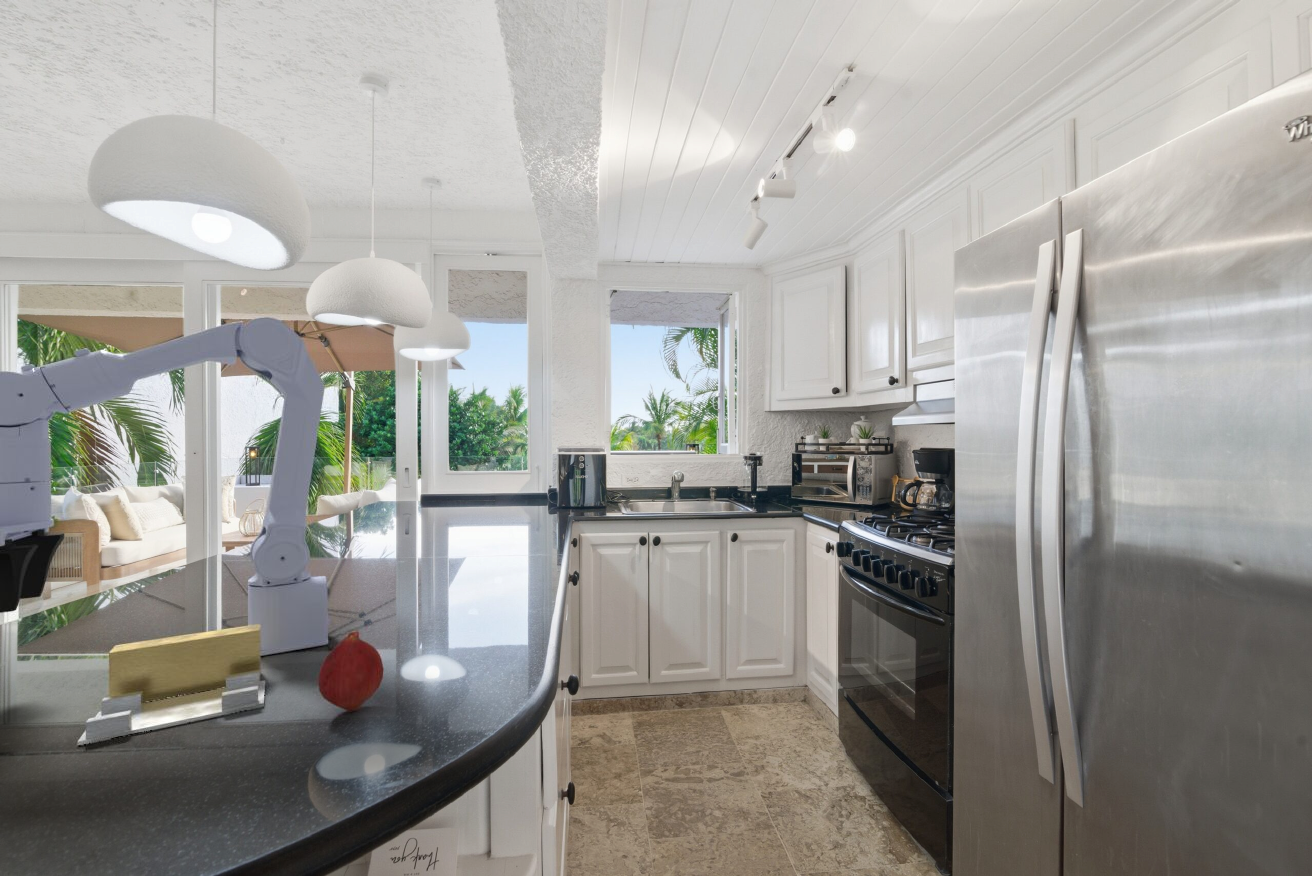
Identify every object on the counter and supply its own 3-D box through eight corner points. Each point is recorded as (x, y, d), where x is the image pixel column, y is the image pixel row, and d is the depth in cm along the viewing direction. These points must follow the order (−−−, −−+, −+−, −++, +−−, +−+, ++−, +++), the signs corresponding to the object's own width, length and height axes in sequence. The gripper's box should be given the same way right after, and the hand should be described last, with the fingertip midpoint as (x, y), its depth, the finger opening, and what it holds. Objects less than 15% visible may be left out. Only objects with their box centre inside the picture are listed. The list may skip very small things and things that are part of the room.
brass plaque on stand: (260, 674, 71) (260, 623, 71) (260, 682, 68) (259, 629, 68) (115, 701, 64) (115, 645, 64) (109, 711, 61) (108, 652, 61)
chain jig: (265, 683, 67) (265, 666, 67) (263, 706, 61) (263, 688, 61) (98, 715, 60) (98, 696, 60) (77, 746, 53) (77, 724, 53)
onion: (317, 729, 55) (316, 644, 56) (320, 706, 61) (319, 628, 61) (385, 715, 58) (384, 633, 58) (382, 694, 63) (381, 619, 63)
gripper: (-10, 482, 70) (-10, 597, 70) (-73, 487, 58) (-72, 626, 58) (71, 479, 74) (72, 588, 74) (29, 483, 62) (30, 614, 61)
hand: (15, 604), depth 66 cm, fingers open, 7 cm apart
